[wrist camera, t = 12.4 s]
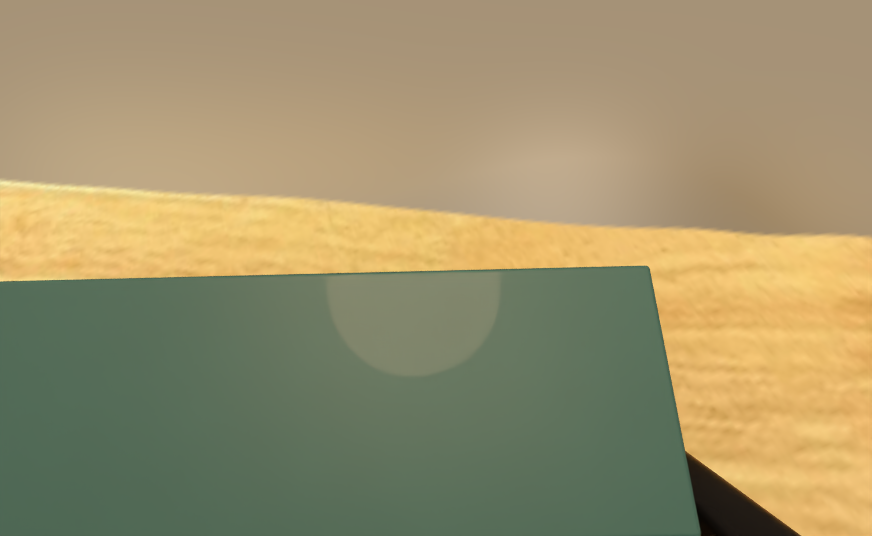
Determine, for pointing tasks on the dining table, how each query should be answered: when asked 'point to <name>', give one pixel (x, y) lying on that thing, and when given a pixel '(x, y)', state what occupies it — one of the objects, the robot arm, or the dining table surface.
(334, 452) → the picture frame
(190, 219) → the dining table surface
